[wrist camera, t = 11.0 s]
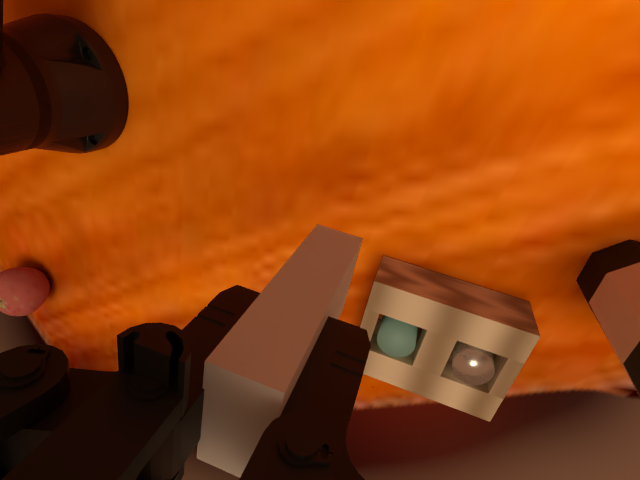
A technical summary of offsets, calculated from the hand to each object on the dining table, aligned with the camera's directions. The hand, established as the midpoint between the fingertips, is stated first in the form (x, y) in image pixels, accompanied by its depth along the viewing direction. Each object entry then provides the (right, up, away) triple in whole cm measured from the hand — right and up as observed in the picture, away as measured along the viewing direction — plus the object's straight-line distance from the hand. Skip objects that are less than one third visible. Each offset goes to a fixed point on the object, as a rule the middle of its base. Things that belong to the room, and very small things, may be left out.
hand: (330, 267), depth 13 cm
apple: (-45, -5, +52) cm, 69 cm away
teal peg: (+9, -7, +33) cm, 36 cm away
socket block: (+13, -8, +33) cm, 37 cm away
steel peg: (+17, -10, +32) cm, 37 cm away
